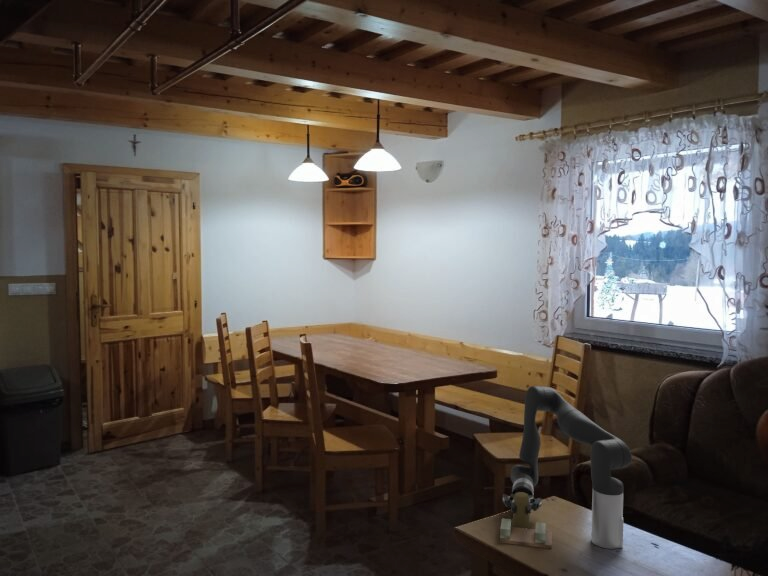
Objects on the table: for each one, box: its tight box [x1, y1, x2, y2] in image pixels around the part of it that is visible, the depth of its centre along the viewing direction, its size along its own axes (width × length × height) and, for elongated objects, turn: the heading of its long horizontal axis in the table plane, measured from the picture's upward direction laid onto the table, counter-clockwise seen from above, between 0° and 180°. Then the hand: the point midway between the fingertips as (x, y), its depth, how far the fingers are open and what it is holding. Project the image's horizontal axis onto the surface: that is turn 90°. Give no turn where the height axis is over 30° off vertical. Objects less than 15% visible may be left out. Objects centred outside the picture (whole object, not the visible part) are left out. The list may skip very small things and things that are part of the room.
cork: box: [511, 492, 531, 529], centre depth 210 cm, size 6×6×11 cm
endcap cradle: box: [499, 517, 553, 549], centre depth 201 cm, size 16×10×4 cm, turn 75°
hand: (520, 511), depth 208 cm, fingers closed on cork, 3 cm apart
